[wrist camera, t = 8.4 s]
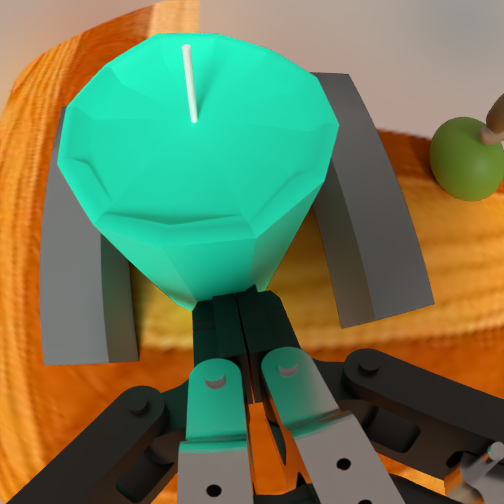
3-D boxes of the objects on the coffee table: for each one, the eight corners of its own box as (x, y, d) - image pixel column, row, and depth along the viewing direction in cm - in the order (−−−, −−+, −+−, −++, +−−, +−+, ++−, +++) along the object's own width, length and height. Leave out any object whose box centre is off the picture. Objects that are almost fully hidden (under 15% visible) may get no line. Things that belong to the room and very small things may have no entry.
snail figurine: (489, 194, 19) (592, 107, 7) (447, 227, 17) (582, 121, 6) (450, 136, 20) (533, 33, 8) (401, 157, 19) (499, 22, 7)
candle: (140, 228, 16) (30, 40, 5) (243, 186, 17) (265, -28, 6) (182, 336, 14) (36, 284, 3) (295, 285, 16) (434, 129, 4)
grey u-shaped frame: (331, 117, 19) (348, 73, 15) (392, 316, 15) (434, 304, 12) (85, 147, 17) (62, 107, 14) (85, 364, 14) (44, 365, 10)
